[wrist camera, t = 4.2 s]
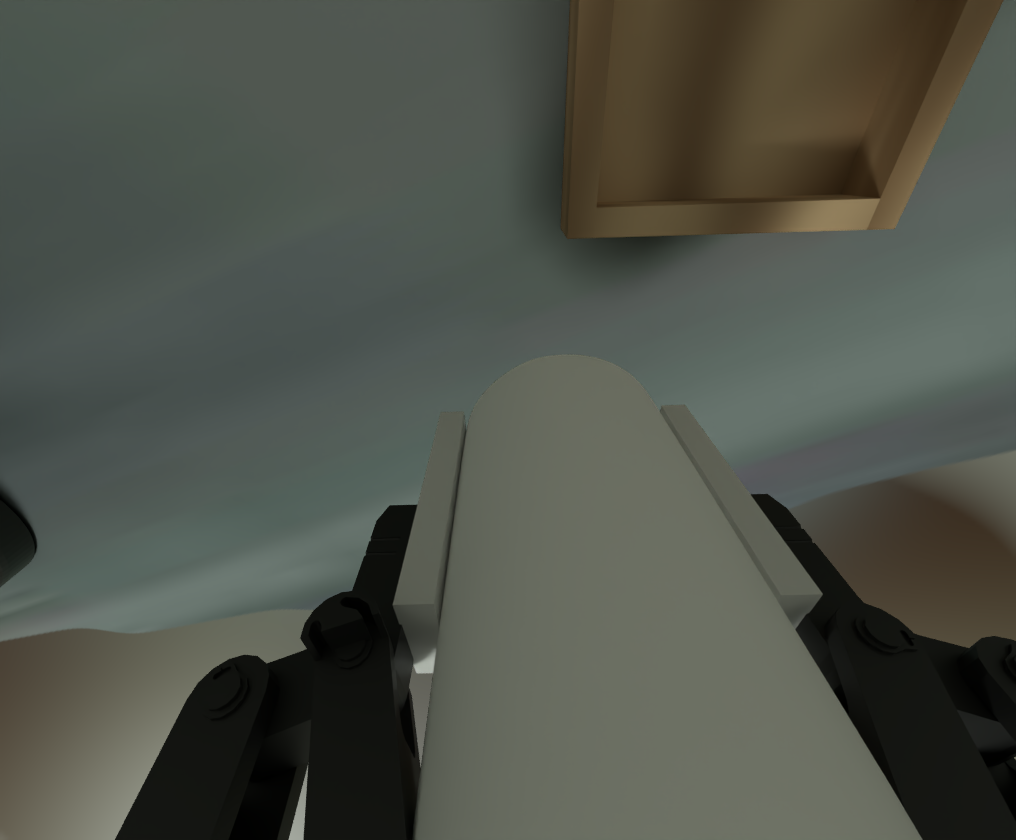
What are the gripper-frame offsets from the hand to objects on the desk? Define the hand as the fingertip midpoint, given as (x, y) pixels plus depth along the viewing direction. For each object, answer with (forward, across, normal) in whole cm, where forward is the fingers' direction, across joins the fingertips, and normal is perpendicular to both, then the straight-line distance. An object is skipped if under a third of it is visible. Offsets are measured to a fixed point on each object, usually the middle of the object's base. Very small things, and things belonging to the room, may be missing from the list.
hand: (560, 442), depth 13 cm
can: (+1, 0, 0) cm, 1 cm away
